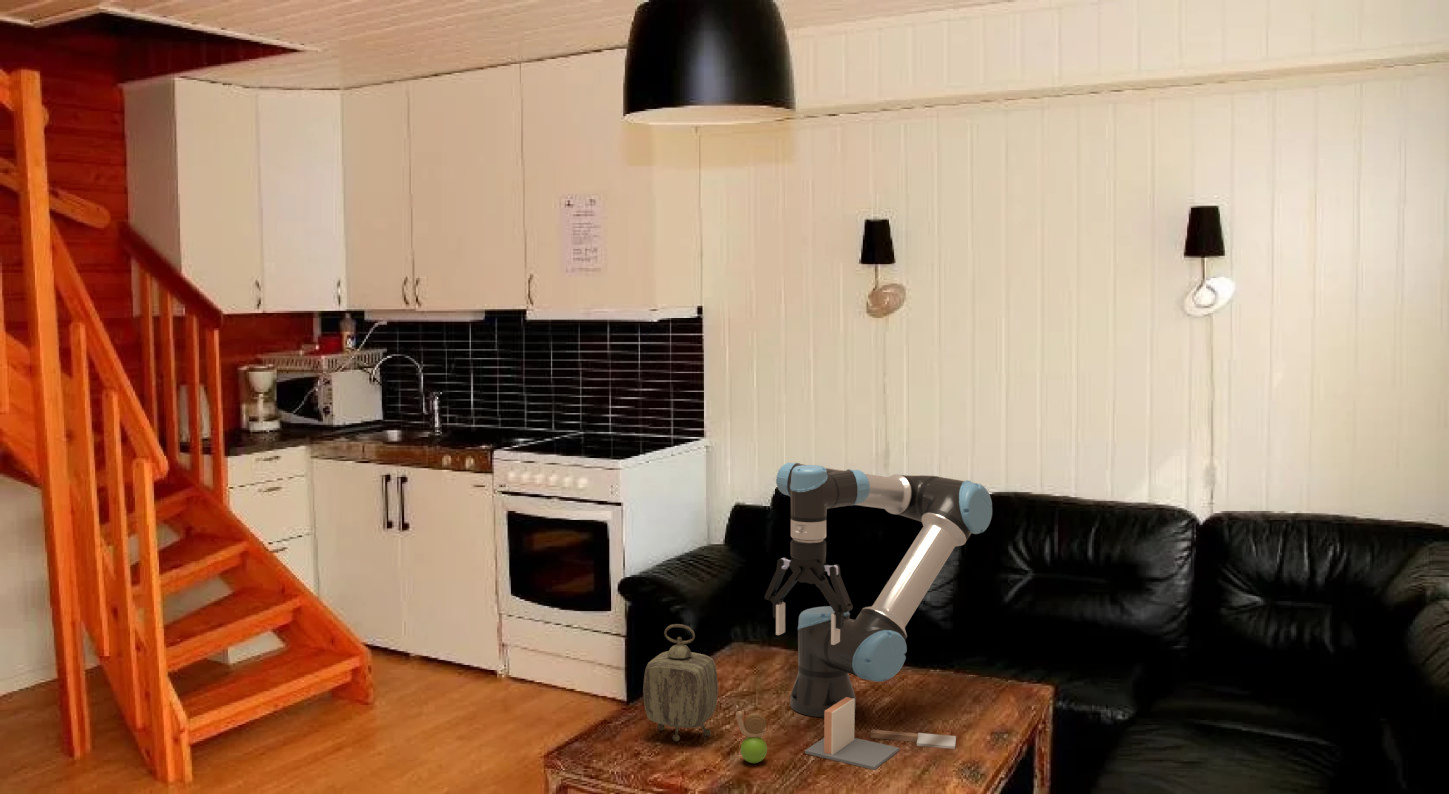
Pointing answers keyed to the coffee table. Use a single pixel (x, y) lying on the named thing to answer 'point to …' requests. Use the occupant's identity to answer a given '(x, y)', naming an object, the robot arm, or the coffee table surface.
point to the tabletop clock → (680, 687)
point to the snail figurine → (752, 736)
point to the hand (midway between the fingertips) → (807, 638)
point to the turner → (917, 738)
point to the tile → (839, 725)
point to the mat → (857, 753)
